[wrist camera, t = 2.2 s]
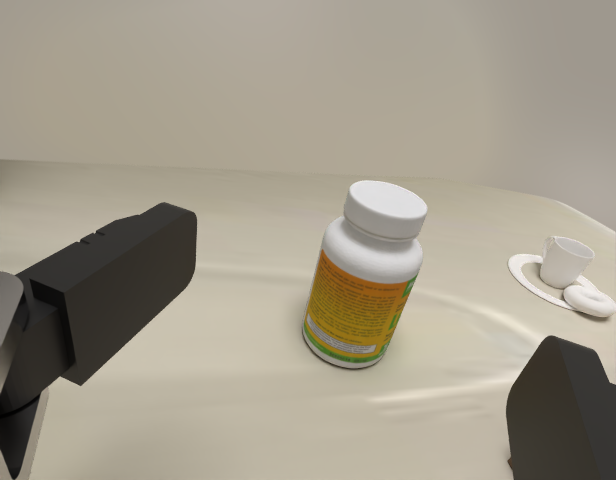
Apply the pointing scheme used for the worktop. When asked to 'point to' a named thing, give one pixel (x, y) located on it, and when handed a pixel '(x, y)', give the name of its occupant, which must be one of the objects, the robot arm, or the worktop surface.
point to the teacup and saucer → (565, 276)
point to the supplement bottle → (364, 274)
